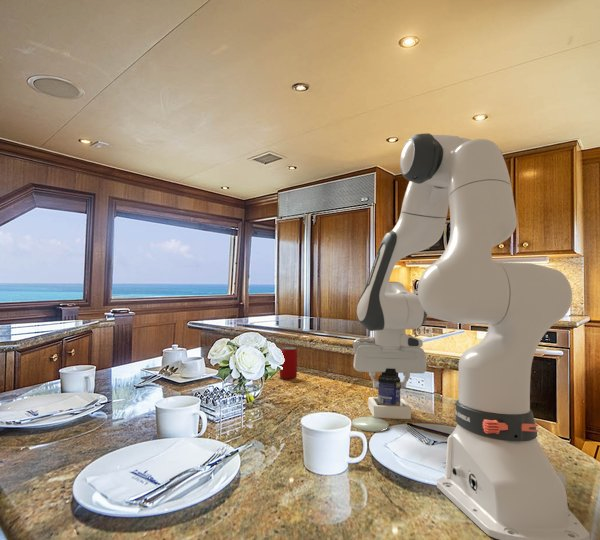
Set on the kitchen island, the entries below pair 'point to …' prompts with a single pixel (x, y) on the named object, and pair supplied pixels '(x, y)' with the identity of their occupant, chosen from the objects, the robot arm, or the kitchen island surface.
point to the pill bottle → (389, 388)
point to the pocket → (389, 409)
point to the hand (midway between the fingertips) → (389, 388)
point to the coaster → (369, 424)
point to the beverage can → (289, 363)
